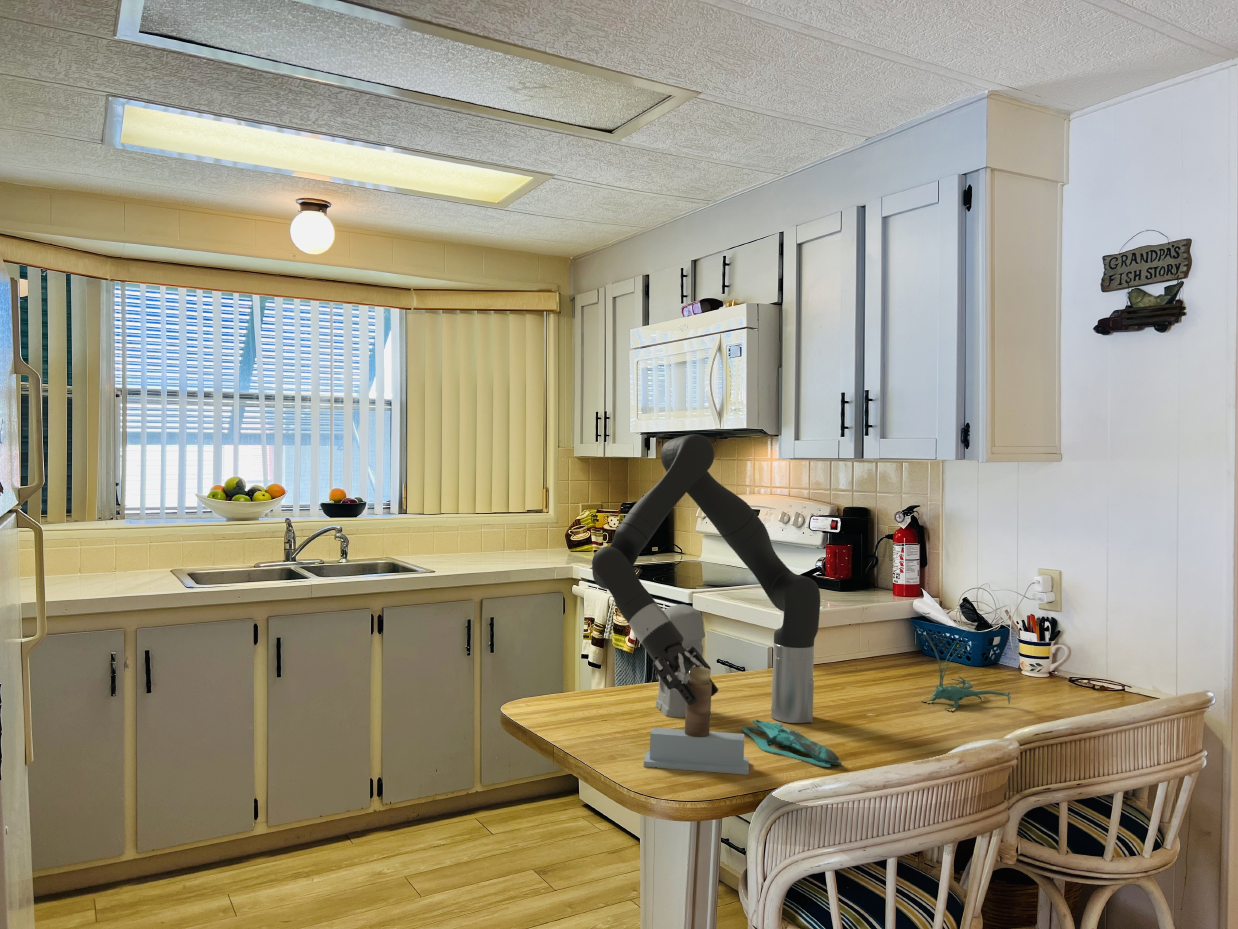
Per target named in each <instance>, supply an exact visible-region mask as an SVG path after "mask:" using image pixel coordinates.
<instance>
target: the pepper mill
mask: <svg viewBox="0 0 1238 929" xmlns="http://www.w3.org/2000/svg"><path fill="white" fill-rule="evenodd" d="M711 670H712V669H711ZM711 670H710V669H708V668H704V666H703V667H692V668H690V678H689V680H688V681H687V684H688V685H689V686H690V688H691V689H692V690H693V692H694V693H695V694H696V696H697V697H698V700H697V701H696V702H695V703H694V704H693V705H691V706H689V705H688V704H687V702H686V715H685V717H684V719H685V721H684V730H685V734H686V735H688V736H692V737H707V736H709V732H711V731H710V728H711V727H710V726H711V710H712V708H711V707H712V696H711V693H712V682H710V678H711Z"/></svg>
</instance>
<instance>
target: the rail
mask: <svg viewBox="0 0 1238 929" xmlns="http://www.w3.org/2000/svg"><path fill="white" fill-rule="evenodd" d="M649 735H650V737H649V738H650V739H649V749H647V750H646V753H645V756H644V759H643V768H655V767H657V769H668V770H669V769H670V770H684V771H695V772H705V773H706V772H708V773H721V774H733V775H734V774H736V775H745V776H747V775H748V776H749V775H750V774H749V773H750V772H749V771H750V766H749V765H750V764H749V763H750V761H749V760H750V759H749V757H747V756H746V757H745V734H744V733H733V732H732V733H731V732H721V731H709V736H707V737H692V736H688V735H686V734H685V729H677V728H676V729H675V728H663V727H652V728H651V730H650V734H649Z"/></svg>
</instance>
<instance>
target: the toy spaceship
mask: <svg viewBox="0 0 1238 929" xmlns="http://www.w3.org/2000/svg"><path fill="white" fill-rule="evenodd" d="M751 723H752V724H754V725H755V726H756V727H755V726H754V727H753V726H743V727H742V728H741V730H742V732H744V733H745V734H746V735H748V736H749V737H751V739H752V740H753V741H754V742H755V743H756V745H757V747H758V748H759V749H761V751H764V752H766V753H768V752H769V754H772V753H773V754H772V755H776V754H778V755H777V756H781V755H782V757H785V756H787V757H786V758H789V757H790V759H793V758H794V759H793V760H796V759H797V761H800V760H801V761H800V762H803V763H807V764H808V765H809V764H810V765H812V766H816V767H821V768H831V767H832V765H833V766H834V765H835V766H837V765H840V766H841V765H842V764H843V763H842V762H841V761H840V758H839V756H838V754H836V752H835V751H833V750H831V749H830V748H829V747H827V746H825V745H822V744H819V743H818V742H815V741H813V740H811V739H810V738H808V737H806V736H804V735H803V734H802V733H800V732H799V731H796V730H794V729H790V728H789V729H788V728H786V727H785V726H784V725H783V724H781V723H779V722H776V723H772V722H767V721H765V722H764V721H761V720H759V719H755V720H751ZM751 731H756V732H759V733H762V734H764V735H766V737H767V739H764V738H762V737H760V736H759V735H757V734H755V733H754V732H751ZM768 744H775V745H774V746H776V745H778V746H777V747H785V748H788V749H790V750H793V751H797V752H799V751H800V752H802V753H804V754H809V755H810V756H811V757H812V758H810V757H804V756H801V755H798V754H795V753H792V752H790V751H789V750H788V751H787V750H780V749H776V748H773V747H771V746H770V745H768Z"/></svg>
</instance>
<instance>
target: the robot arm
mask: <svg viewBox="0 0 1238 929" xmlns="http://www.w3.org/2000/svg"><path fill="white" fill-rule="evenodd" d="M660 460H661V464H662V466H663V468H664V470H665V471H666V473H665V475H664V476H663V477H661V479H660V480H659V481H658V482H657V483H656V484H655V485H654V486H653V487H652V488H651V489H650V490H649V491H647V492H646V493H645V494H644V495H643V496H642V497H641V498H639V500H638V501H637V502H636V503H635V504H634V505H633V507H632V508H630V510H629V512H627V514H626V515H625V516H624V518H623V519H622V521H621V522H620V524H619V525H618V527H617V528H616V530H615V533H614V534H613V539H612V541H611V543H610V545H609V546H603V547H600V548H599V549H598V550H597V551H595V553H594V555H593V556H592V560H591V568H592V569H591V571H592V578H593V581H594V582H595V583H596V585H597V586H598V587H600V588H601V589H604V590H607V591H609V592H610V594H611V596H612V598H613V600H614V603H615V606H616V608H617V610H618V611H619V612H620V614H621V616H622V617H623V618H624V620H625V621H626V622H627V624H628V625H629V627H630V629H631V630H632V633H633V634H634V636H635V637H636V638H637V640H638V641H639V643H640V644H641V645H642V646H643V648H644V649H645V651H646V652H647V654H648V656H650V658H651V659H652V660H653V661H654V662H653V663H652V668H653V669H654V671H655V673H657V675H658V677H659V676H660V678H661V679H662V681H663V682H664V684H665V685H666V687H667V688H668V689H669V690H671V689H672V688H674V689H675V690H676V691H677V690H678V691H679V693H680V694H681V695H682V697H683V698H684V700H685V701H686V702H687V704H688V705H689V706H691V705H693V704H694V703H695V702H696V701H697V700H698V697H697V696H696V694H695V693H694V692H693V690H692V689H691V688H690V686H689V685H688V684H687V683H686V681H685V677H684V675H687V676H689V677H690V668H692V666H693V667H702V666H700V663H701V664H702V665H703V667H704V668H708V669H710V670H712V667H711V666H710V665H709V663H708V662H707V661H706V660H705V659H704V657H703V656H701V655H700V654H699V652H698V651H697V650H696V649H695V648H694V647H693V646H692V647H691V648H689V649H688V650H686V649H685V648H684V647H683V646H682V642H683V640H684V638H683V636H682V635H681V633H680V632H679V631H678V629H677V628H676V627H675V625H674V624H673V623H672V621H671V620H670V619H669V617H668V616H667V615H666V613H665V612H664V611H663V610H664V609H662V608H661V606H659V604H658V603H657V602H656V600H655V599H654V598H653V596H652V595H651V594H650V593H649V591H648V590H647V589H646V588H645V587H644V585H643V584H642V582H641V581H640V578H639V577H638V575H637V573H636V571H635V570H634V568H633V567H634V565H635V563H636V561H637V559H639V558H638V557H639V555H640V553H641V552H642V550H644V548H645V547H646V546H647V545H648V543H649V542H650V540H651V539H652V537H653V536H654V534H655V533H656V532H657V530H658V529H659V527H660V526H661V524H662V523H663V522H664V520H665V519H666V518H667V516H668V515H669V513H670V512H671V511H672V510H673V508H674V507H675V506H676V505H677V504H678V503H679V502H680V500H681V499H682V498H683V497H684V496H685V495H686V494H687V495H688V496H689V497H690V498H691V499H692V500H693V501H694V503H696V505H697V506H698V507H699V509H700V510H701V511H702V513H703V514H704V515H705V516H706V518H707V519H708V520H709V521H710V522H711V524H712V525H713V526H714V527H715V529H716V530H717V532H718V533H719V534H720V536H721V537H722V538H723V540H724V541H725V542H726V543H727V545H728V546H729V547H730V548H731V550H733V552H734V553H735V554H736V555H737V557H738V558H739V559H740V561H741V562H743V564H744V565H745V566H746V567H747V568H748V570H750V572H751V573H752V574H753V575H754V577H755V578H756V580H757V581H758V583H759V585H760V586H761V587H762V590H763V591H764V592H765V594H766V595H767V598H768V599H769V601H770V602H771V603H772V605H773V606H774V607H775V608H776V609H778V610H779V611H780V612H783V617H782V618H783V619H782V620H783V622H782V625H781V627H779V628H777V629H775V631H774V633H773V651H772V652H773V653H772V655H773V656H772V657H773V658H772V684H771V710H770V712H771V714H770V715H771V718H772V719H774V720H775V721H779V722H783V723H790V724H803V723H805V724H806V723H813V721H814V720H813V719H814V718H813V716H814V692H815V690H814V689H815V688H814V687H815V686H814V684H815V681H814V660H815V659H814V656H815V638H816V637H817V634H818V632H819V624H820V614H821V613H820V612H821V593H820V592H821V591H820V588H819V586H818V583H817V582H815V580H813V579H812V578H810V577H807V576H804V575H801V574H797V573H794V572H793V571H792V570H791V569H790V568H789V567H788V566H787V565H786V564H785V563H784V562H783V561H782V560H781V558H780V557H779V556H778V554H777V553H776V552H775V550H774V548H773V544H772V542H771V537H770V535H769V531H768V529H767V527H766V526H765V524H764V523H763V521H762V520H761V519H760V517H759V515H757V513H756V512H755V510H754V509H753V508H752V507H751V506H750V505H749V504H748V503H747V502H746V501H745V500H744V499H742V498H741V497H740V496H739V495H736V494H735V493H734V492H732V491H731V490H729V489H728V488H727V487H725V486H724V485H722V484H720V482H718V481H717V480H716V479H715V478H714V477H713V476H712V475H711V473H710V472H709V470H710V468H711V467H712V466H713V463H714V460H715V449H714V445H713V443H712V442H711V441H710V439H708V438H707V437H706V436H705V435H701V434H698V433H697V434H687V435H684V436H679V437H675V438H672V439H670V440H668V441H666V442H665V443H664V444H663V446H662V447H661V450H660ZM667 676H669V680H670V682H669V680H668V679H667ZM710 682H712V693H711V697H714V695H716V694H717V693H718V692H719V688H718V686H717V685H716V684H715V682H714V681H713V680H712V678H711V677H710ZM685 683H686V684H685Z"/></svg>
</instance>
